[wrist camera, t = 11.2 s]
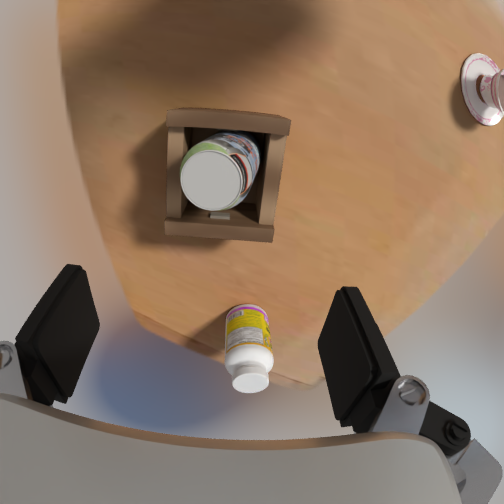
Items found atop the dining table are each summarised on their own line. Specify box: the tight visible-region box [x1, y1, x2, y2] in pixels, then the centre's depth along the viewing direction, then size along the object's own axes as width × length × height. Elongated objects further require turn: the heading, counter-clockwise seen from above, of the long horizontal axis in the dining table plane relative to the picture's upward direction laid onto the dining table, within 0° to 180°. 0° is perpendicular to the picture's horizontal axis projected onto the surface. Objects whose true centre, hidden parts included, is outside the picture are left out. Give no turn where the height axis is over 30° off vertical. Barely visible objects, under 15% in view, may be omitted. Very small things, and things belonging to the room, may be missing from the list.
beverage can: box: [180, 130, 262, 211], centre depth 26 cm, size 6×7×12 cm
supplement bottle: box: [225, 304, 274, 393], centre depth 40 cm, size 7×7×13 cm
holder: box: [164, 108, 291, 243], centre depth 30 cm, size 12×11×8 cm
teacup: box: [461, 53, 504, 126], centre depth 25 cm, size 12×12×6 cm
